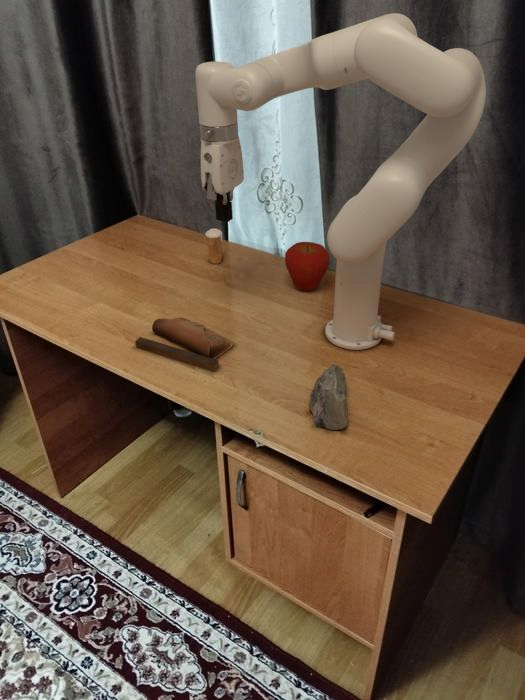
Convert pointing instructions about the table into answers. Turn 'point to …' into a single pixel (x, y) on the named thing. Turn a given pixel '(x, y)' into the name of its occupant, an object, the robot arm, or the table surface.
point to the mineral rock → (330, 399)
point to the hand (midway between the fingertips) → (224, 219)
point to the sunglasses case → (193, 336)
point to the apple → (307, 264)
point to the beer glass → (214, 245)
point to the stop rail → (177, 354)
